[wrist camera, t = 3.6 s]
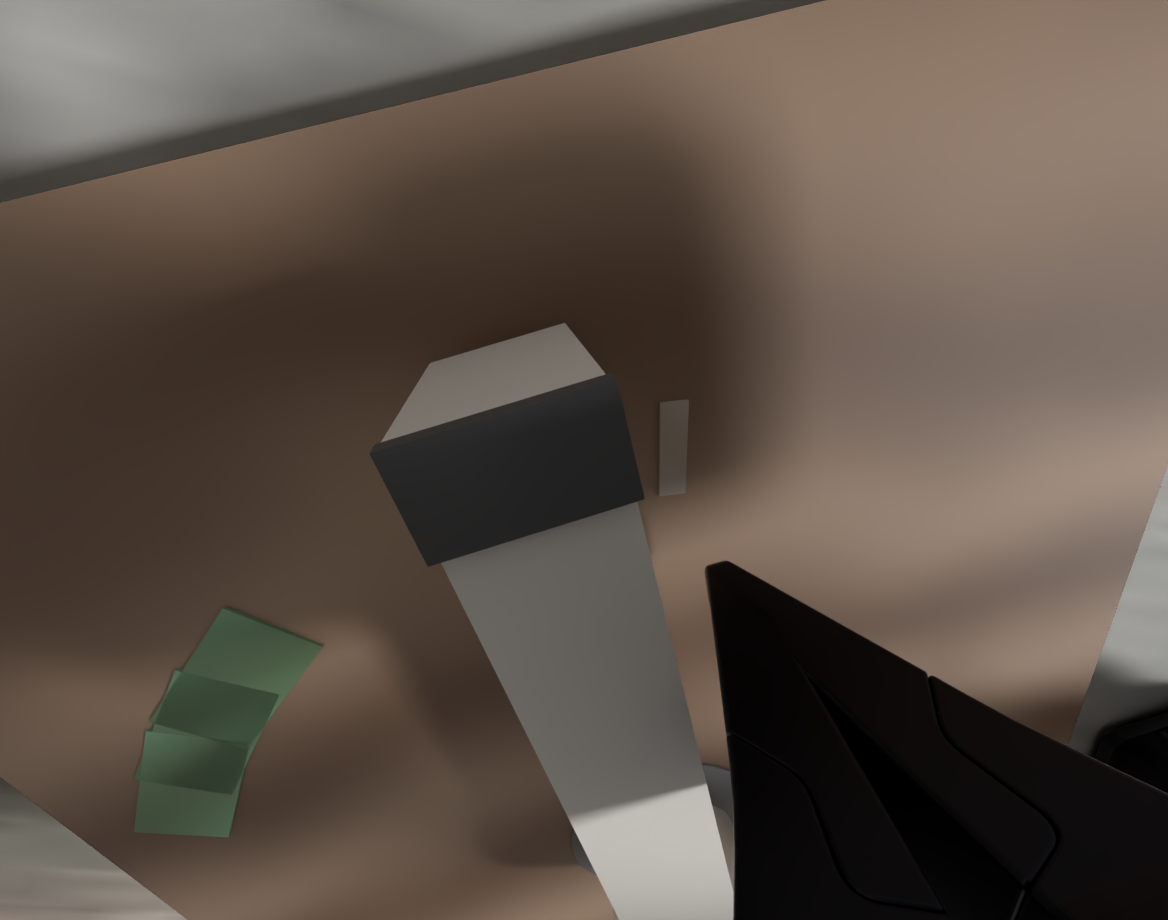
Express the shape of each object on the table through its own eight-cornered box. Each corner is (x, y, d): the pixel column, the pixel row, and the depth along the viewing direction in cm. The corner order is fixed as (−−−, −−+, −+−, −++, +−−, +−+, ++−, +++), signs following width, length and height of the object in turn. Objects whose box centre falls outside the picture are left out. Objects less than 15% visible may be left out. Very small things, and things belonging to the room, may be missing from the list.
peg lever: (738, 856, 14) (801, 1019, 11) (620, 896, 14) (651, 1072, 11) (618, 306, 7) (702, 352, 4) (375, 379, 7) (279, 479, 4)
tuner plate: (1010, 744, 17) (1056, 790, 16) (340, 959, 16) (324, 1028, 15) (1230, -71, 8) (1394, -142, 6) (-357, 323, 7) (-588, 345, 5)
